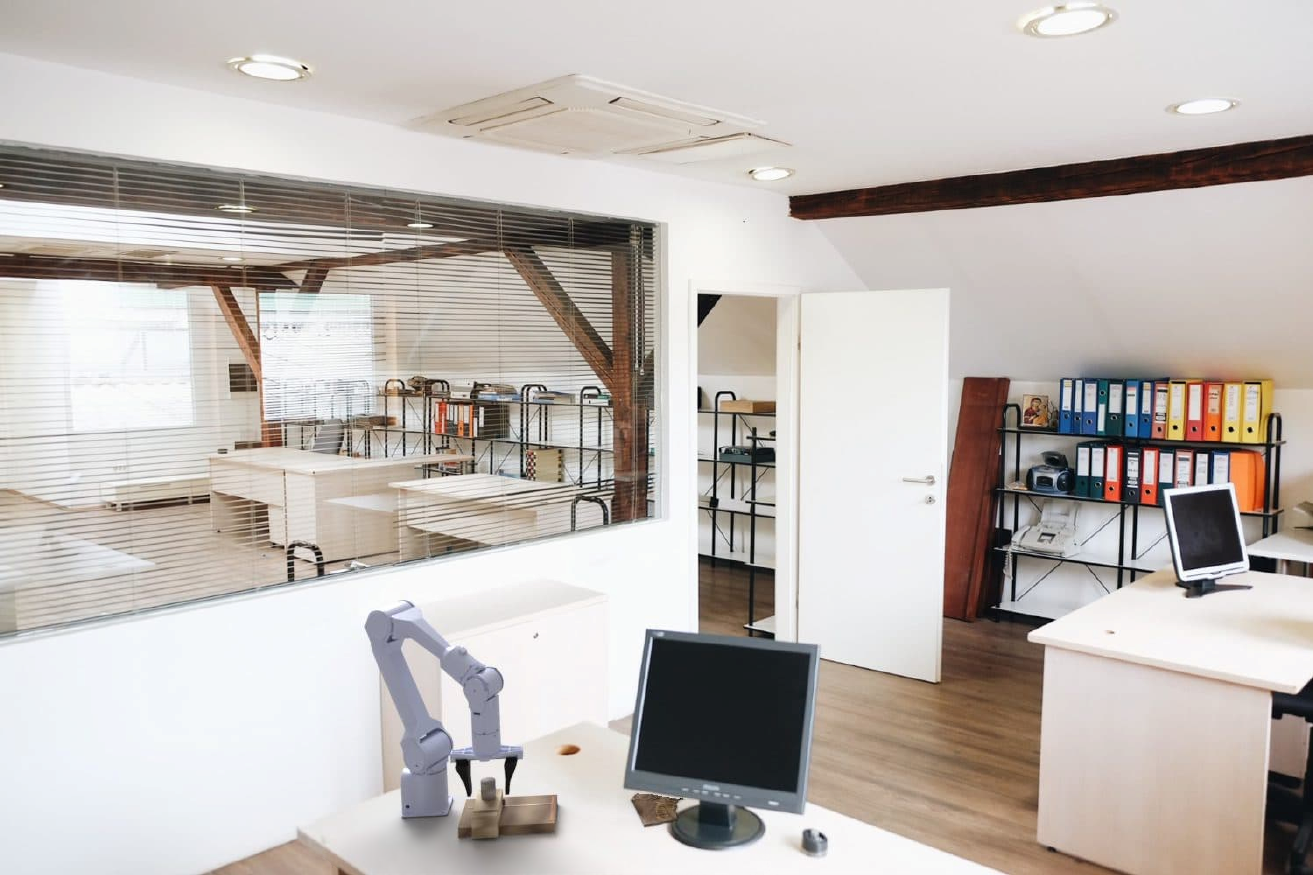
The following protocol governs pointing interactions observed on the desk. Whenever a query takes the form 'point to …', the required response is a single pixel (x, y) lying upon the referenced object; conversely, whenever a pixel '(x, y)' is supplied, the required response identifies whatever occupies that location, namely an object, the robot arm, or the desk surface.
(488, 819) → the beige block with knob
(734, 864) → the desk surface
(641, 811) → the wooden fragment
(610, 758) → the desk surface
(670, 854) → the desk surface
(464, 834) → the board
